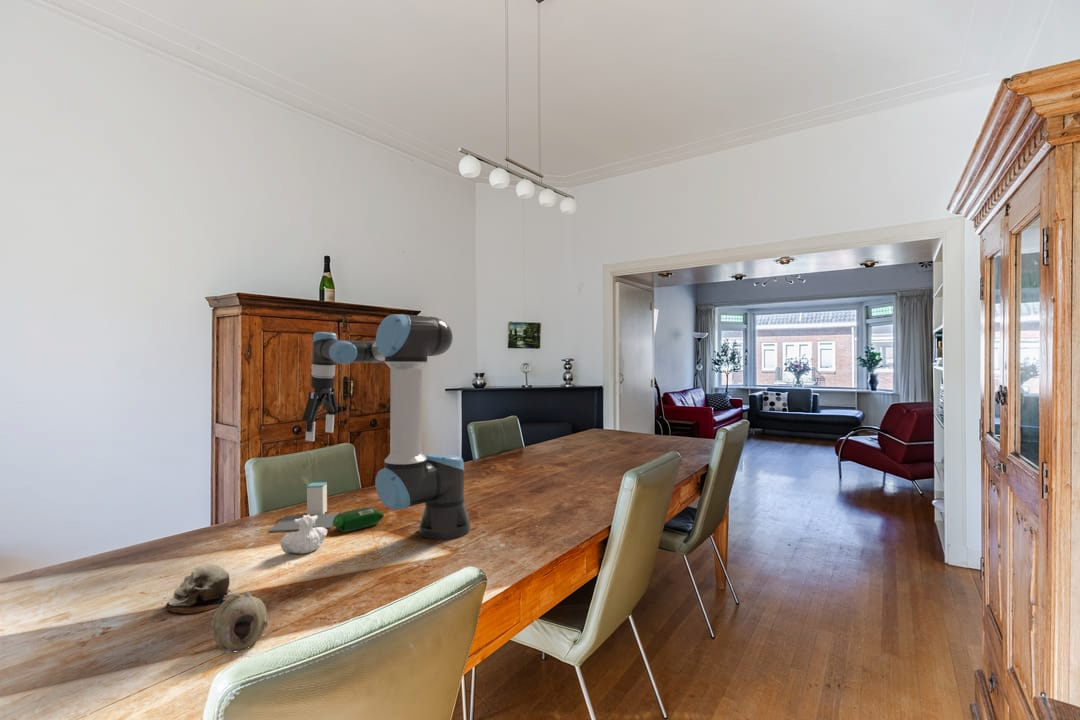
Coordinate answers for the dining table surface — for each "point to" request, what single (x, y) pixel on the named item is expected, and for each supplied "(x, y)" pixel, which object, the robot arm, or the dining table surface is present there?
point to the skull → (201, 590)
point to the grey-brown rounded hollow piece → (239, 622)
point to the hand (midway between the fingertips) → (319, 436)
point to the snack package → (357, 519)
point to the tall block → (317, 498)
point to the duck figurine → (304, 536)
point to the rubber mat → (291, 525)
